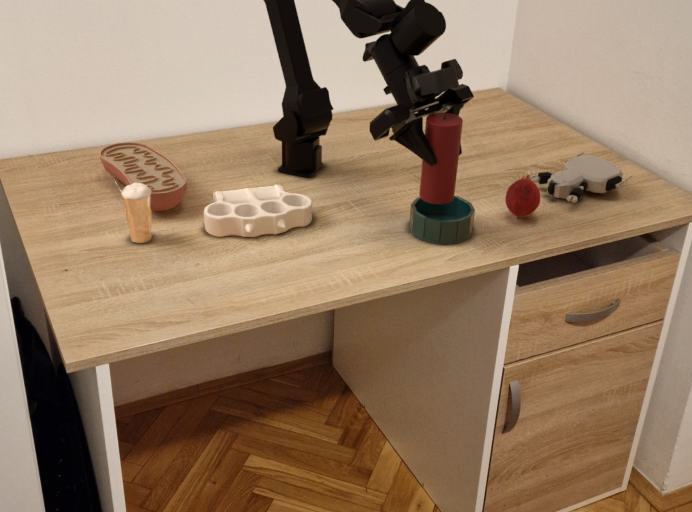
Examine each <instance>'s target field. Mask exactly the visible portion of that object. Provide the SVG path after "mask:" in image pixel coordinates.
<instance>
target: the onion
mask: <svg viewBox="0 0 692 512" xmlns="http://www.w3.org/2000/svg"><path fill="white" fill-rule="evenodd" d="M530 176H531V175H530V174H529V173H525V174H523V176H522V177H521V178H520V179H517V180H516V181H513V183H512V184H510V185H509V186H508V188H507V190H506V193H505V199H504V200H505V206H506V208H507V209H508V211H509V212H510V213H511V214H512V215H513V216H515V217H516V218H518V219H523V218H525V217H528V216H530V215H531V214H533V213H534V212H535V211H536V210H537V209H538V208H539V206H540V204H541V191H540V189H539V187H538V185H537V184H536V183H534V182H533V181H532V180H530Z"/></svg>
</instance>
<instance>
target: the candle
mask: <svg viewBox="0 0 692 512" xmlns="http://www.w3.org/2000/svg"><path fill="white" fill-rule="evenodd" d="M463 122H464V120H463V118H462V117H461V116H460V115H459V116H457V115H455V114H451V113H433V114H430V115H427V116H425V129H424V134H425V136H426V138H427V141H428V143H429V145H430V147H431V149H432V151H433V153H434V156H435V158H436V161H437V164H435V165H434V166H430V165H429V164H428V163H426V162H425V161H424V160H422V159H421V171H420V182H419V192H418V193H419V196H418V197H420V198H421V199H422V200H423V201H425V202H428V203H432V204H446V203H449V202H451V201H453V199H454V196H455V192H456V183H457V177H458V169H459V167H458V166H459V157H460V155H459V150H460V142H461V140H462V132H463Z"/></svg>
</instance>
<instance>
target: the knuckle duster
mask: <svg viewBox="0 0 692 512" xmlns="http://www.w3.org/2000/svg"><path fill="white" fill-rule="evenodd" d="M212 199H213V202H212V203H209V204H208V205H206V206H205V207H204V208H203V209H204V210H203V218H204V219H203V221H204V230H205V231H206V233H207V234H209V235H211V236H214V237H218V238H223V237H228V236H238V237H243V238H257V237H259V236H263V235H279V234H282V233H286V232H287V231H289V230H290V229H293V228H298V227H307V226H308V225H309V224H311V222H312V220H313V201H312V199H311V197H309V196H307V195H305V194H301V193H296V192H295V193H294V192H287V191H285V190H284V187H283V186H282V185H281V184H279V183H276V184H274V185H268V186H260V187H258V186H257V187H244V188H240V189H231V190H222V191H220V190H215V191H213V192H212Z"/></svg>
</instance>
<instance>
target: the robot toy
mask: <svg viewBox="0 0 692 512" xmlns="http://www.w3.org/2000/svg"><path fill="white" fill-rule="evenodd" d="M623 176H624V172H623V171H622V170H621V169H620V167H618V166H617V165H616V164H614V163H613V162H611V161H609V160H607V159H605V158H602V157H599V156H596V155H592V154H585V150H584V151H583V150H582V151H581V152H580V153H578V154H576V156H574V157H572V158H569V159H567V160H566V161H565V163H564V167H563V170H559V171H556V172H553V173H552V172H549V171H542V172H538V174H537V175H535V174H533V175H530V180H532V181H533V182H534V183H535V184H536V183H538V184H539V185H546V193H547V194H549V195H551V196H553V198H557V199H559V198H561V199H563V200H566V201H567V202H569V203H570V202H571V203H574V204H576V203H578V202H579V201H580V200H581V199H582V197H583V195H584V192H586V191H587V192H591V193H594V194H595V193H596V194H605V193H608V192H611V191H613V190H617V189H618V188H620V187H621V186H622V185H623V184H624V183H626V182H627V181H628V180H630V179H632V178H633V177H634V174H630V175H628V176H627V177H626V178H625V179H623Z"/></svg>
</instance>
